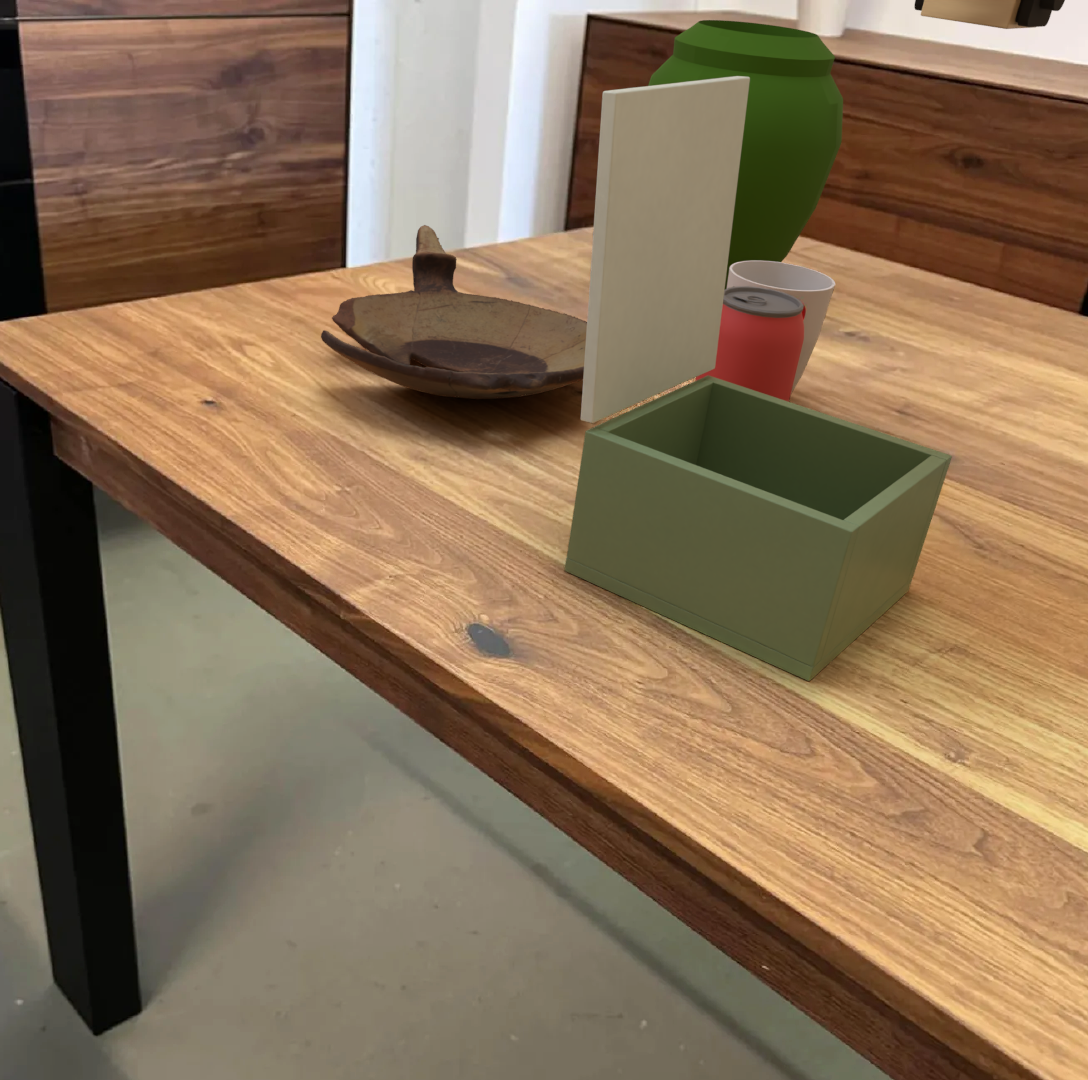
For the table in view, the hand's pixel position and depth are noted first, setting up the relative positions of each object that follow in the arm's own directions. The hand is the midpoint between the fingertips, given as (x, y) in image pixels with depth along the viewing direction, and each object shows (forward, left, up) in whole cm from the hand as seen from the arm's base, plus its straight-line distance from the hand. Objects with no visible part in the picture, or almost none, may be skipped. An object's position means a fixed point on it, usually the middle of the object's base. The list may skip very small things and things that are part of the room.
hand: (980, 13), depth 62 cm
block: (0, 0, 0) cm, 0 cm away
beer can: (+11, -6, -31) cm, 33 cm away
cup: (+16, -20, -31) cm, 40 cm away
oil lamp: (+34, -5, -31) cm, 46 cm away
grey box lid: (+10, +9, -13) cm, 19 cm away
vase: (+34, -44, -31) cm, 63 cm away
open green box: (+2, +9, -31) cm, 32 cm away
